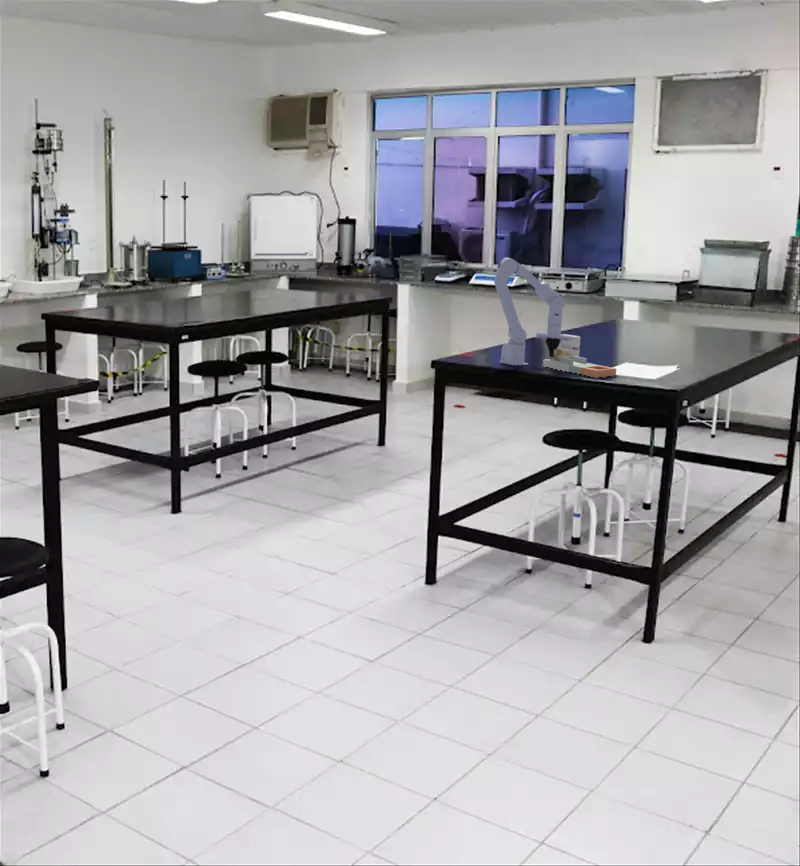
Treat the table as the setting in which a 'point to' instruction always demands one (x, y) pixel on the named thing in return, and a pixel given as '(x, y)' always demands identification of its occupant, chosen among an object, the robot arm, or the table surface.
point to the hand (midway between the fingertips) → (551, 356)
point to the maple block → (561, 354)
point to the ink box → (571, 345)
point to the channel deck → (580, 367)
